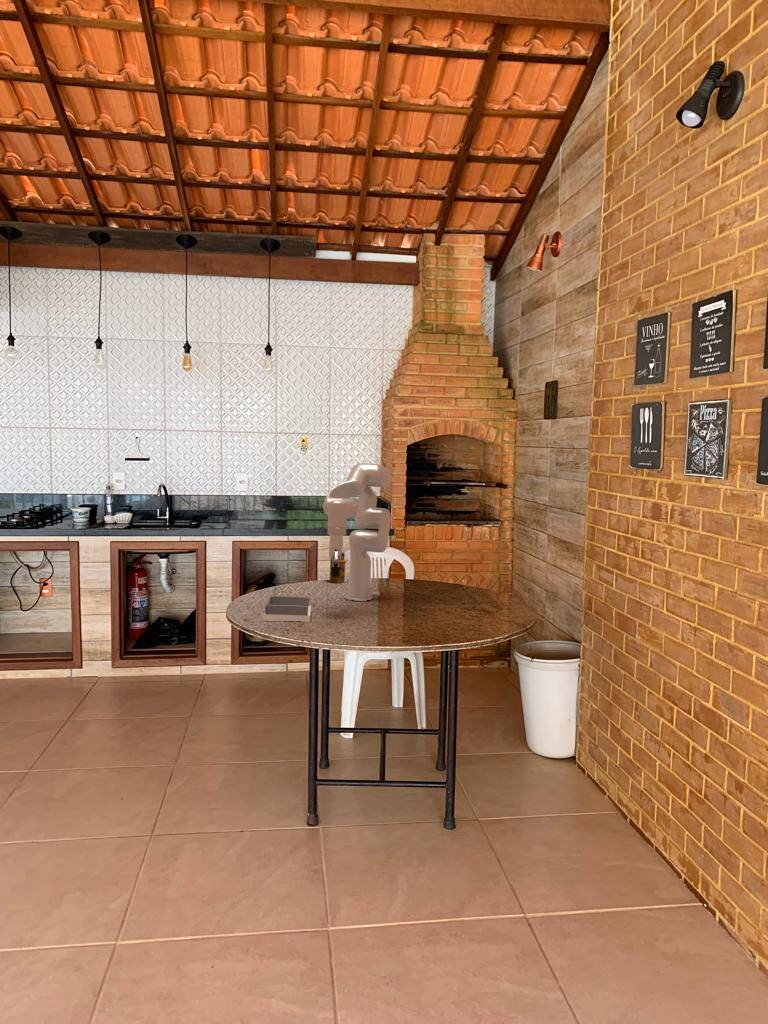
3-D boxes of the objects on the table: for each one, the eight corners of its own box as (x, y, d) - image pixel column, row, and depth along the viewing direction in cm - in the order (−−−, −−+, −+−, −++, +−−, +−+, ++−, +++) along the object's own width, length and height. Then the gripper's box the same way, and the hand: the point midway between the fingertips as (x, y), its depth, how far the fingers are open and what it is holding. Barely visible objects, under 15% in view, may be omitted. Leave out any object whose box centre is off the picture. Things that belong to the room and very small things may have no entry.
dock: (311, 611, 289) (311, 597, 288) (309, 622, 271) (310, 607, 270) (267, 609, 287) (267, 595, 287) (263, 620, 270) (263, 605, 269)
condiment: (348, 583, 281) (349, 553, 280) (330, 584, 276) (331, 555, 275) (339, 579, 287) (340, 550, 286) (321, 581, 282) (322, 552, 281)
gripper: (327, 527, 288) (326, 570, 290) (327, 533, 271) (325, 579, 273) (345, 528, 288) (344, 570, 290) (346, 534, 271) (344, 579, 273)
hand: (335, 574), depth 282 cm, fingers closed on condiment, 6 cm apart
